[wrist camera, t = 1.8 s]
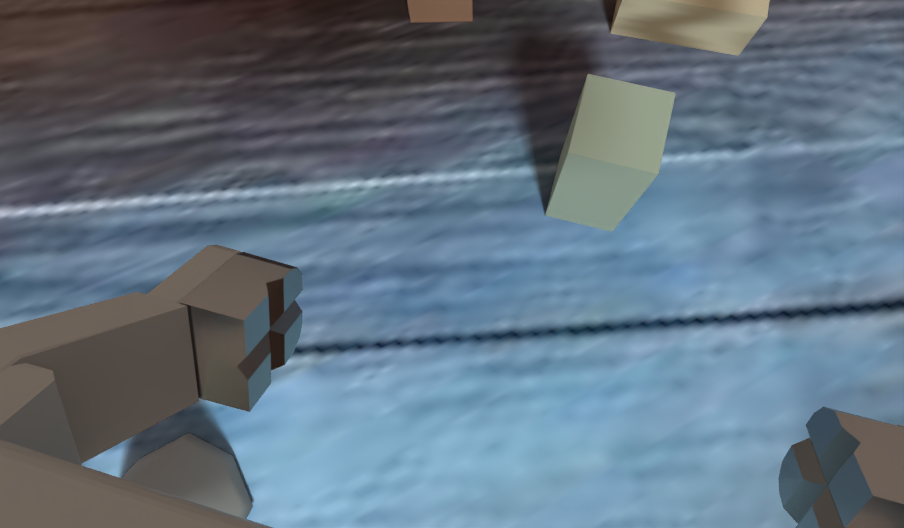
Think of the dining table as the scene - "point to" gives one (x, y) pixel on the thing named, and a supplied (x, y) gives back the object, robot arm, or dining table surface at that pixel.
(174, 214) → the dining table surface
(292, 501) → the dining table surface
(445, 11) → the terracotta block
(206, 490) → the flask
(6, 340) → the robot arm
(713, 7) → the beech block
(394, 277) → the dining table surface
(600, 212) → the sage block
